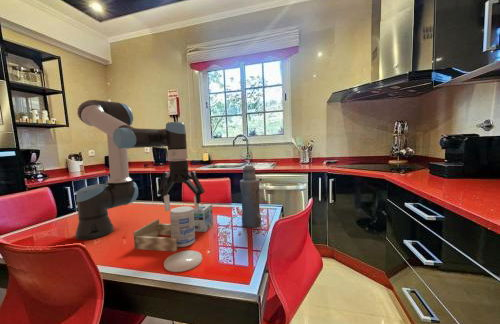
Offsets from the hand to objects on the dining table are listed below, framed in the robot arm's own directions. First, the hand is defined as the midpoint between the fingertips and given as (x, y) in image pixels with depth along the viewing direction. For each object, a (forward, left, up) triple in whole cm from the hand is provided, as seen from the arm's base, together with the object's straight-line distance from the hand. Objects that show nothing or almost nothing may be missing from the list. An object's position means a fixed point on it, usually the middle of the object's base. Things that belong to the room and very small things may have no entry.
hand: (182, 210), depth 93 cm
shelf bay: (-9, 0, -14) cm, 17 cm away
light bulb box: (+1, +17, -14) cm, 22 cm away
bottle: (+24, +24, -14) cm, 37 cm away
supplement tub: (0, 0, -14) cm, 14 cm away
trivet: (+7, -14, -14) cm, 21 cm away
